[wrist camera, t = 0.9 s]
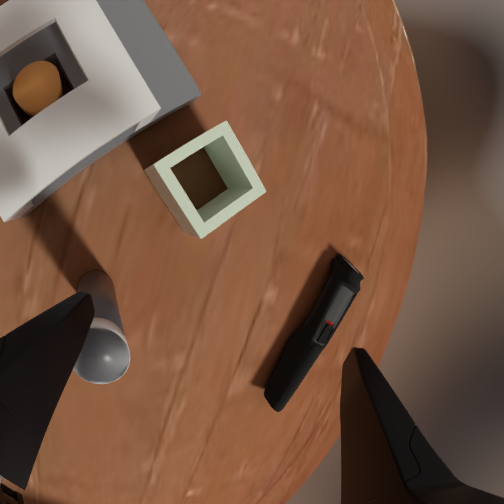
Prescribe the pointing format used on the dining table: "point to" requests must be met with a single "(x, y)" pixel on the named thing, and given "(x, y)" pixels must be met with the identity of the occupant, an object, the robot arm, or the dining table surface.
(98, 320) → the flashlight
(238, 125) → the dining table surface
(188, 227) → the pen stand
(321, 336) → the electric trimmer
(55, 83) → the button
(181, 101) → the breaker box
